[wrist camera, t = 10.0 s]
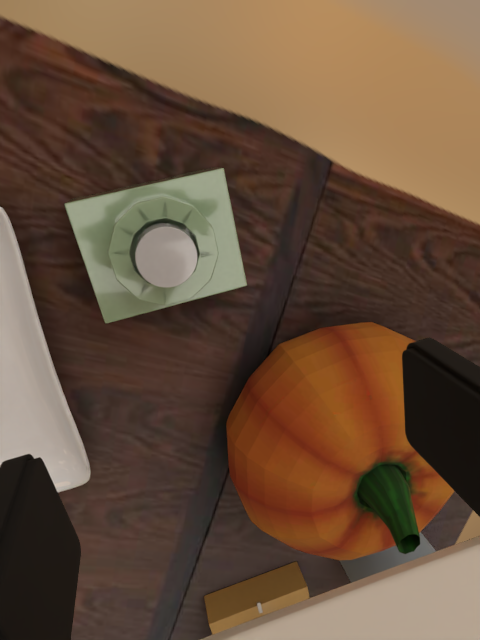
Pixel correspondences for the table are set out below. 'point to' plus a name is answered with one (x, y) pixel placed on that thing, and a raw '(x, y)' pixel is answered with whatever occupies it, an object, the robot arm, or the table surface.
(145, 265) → the grey rotary knob
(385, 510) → the pumpkin
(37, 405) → the salad plate
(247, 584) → the plate
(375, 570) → the spray bottle
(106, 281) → the green knob base
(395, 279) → the table surface
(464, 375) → the robot arm
